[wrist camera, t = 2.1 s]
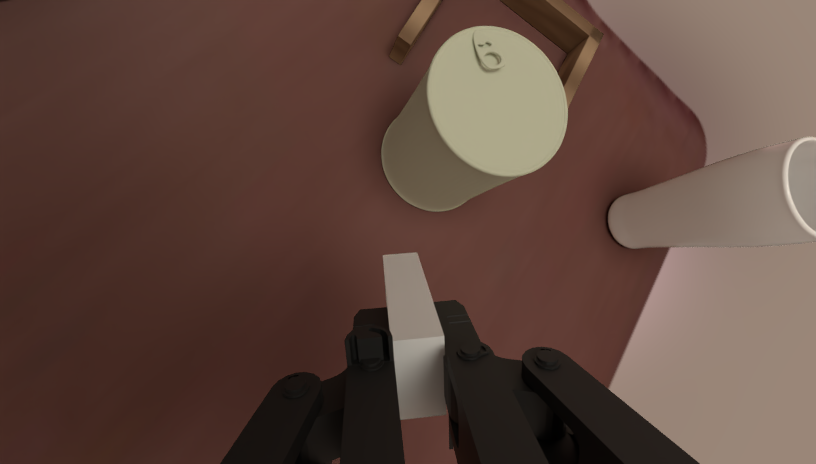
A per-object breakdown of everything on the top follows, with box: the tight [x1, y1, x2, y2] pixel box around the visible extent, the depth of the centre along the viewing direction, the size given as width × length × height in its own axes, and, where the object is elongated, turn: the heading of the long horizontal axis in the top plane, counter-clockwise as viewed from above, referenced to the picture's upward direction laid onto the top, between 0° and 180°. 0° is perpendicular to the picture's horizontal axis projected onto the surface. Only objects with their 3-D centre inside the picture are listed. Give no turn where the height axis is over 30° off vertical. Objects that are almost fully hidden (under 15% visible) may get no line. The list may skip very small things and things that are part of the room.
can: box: [381, 26, 568, 212], centre depth 28 cm, size 9×9×12 cm
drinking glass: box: [608, 137, 816, 249], centre depth 32 cm, size 7×7×15 cm
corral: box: [389, 0, 604, 108], centre depth 35 cm, size 13×15×3 cm
